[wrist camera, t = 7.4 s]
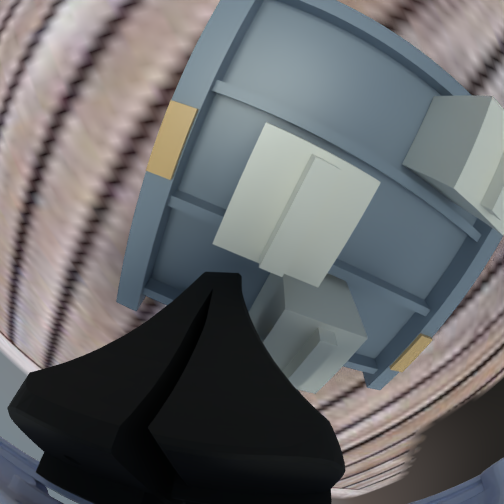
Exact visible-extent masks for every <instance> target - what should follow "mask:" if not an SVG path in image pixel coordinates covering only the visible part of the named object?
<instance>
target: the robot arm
mask: <svg viewBox="0 0 504 504" xmlns="http://www.w3.org/2000/svg"><path fill="white" fill-rule="evenodd" d="M8 412H9V415H10V417H11V419H12V420H13V422H14V423H15V424H16V425H17V426H18V427H19V428H20V429H21V430H22V431H23V432H24V433H25V434H26V435H27V436H28V437H29V438H30V439H31V440H32V441H33V442H34V443H35V444H36V445H37V446H38V447H40V448H41V449H42V450H43V451H44V454H43V456H42V458H41V461H40V462H39V461H37V460H35V459H34V458H32V457H30V456H29V455H27V454H26V453H24V452H23V451H21V450H19V449H18V448H16V447H15V446H13V445H12V444H10V443H9V442H7V441H6V440H5V439H3V438H2V437H0V504H63V503H61V502H60V501H58V500H56V499H54V498H52V497H51V496H50V495H49V494H48V490H47V488H46V487H48V488H50V489H51V490H53V491H55V492H57V493H59V494H60V495H62V496H64V497H66V498H68V499H70V500H72V501H74V502H76V503H79V504H331V488H332V487H333V486H334V485H335V484H336V483H337V482H338V481H339V480H340V479H341V477H342V476H343V475H344V473H345V463H344V459H343V455H342V451H341V448H340V445H339V442H338V440H337V437H336V435H335V433H334V430H333V428H332V426H331V424H330V422H329V421H328V420H327V419H326V418H325V417H324V416H323V415H322V414H321V413H320V412H319V411H317V410H316V409H315V408H314V407H313V406H312V405H311V404H310V403H309V402H308V401H307V400H306V399H305V398H304V397H303V396H302V395H301V393H300V392H299V391H298V390H297V389H296V388H295V387H294V386H293V385H292V383H291V382H290V381H289V380H288V378H287V377H286V376H285V374H284V373H283V372H282V371H281V369H280V368H279V367H278V365H277V364H276V363H275V361H274V360H273V358H272V357H271V355H270V354H269V352H268V351H267V349H266V347H265V346H264V344H263V342H262V340H261V339H260V337H259V335H258V333H257V331H256V329H255V327H254V325H253V322H252V320H251V318H250V315H249V313H248V310H247V307H246V304H245V301H244V297H243V293H242V276H241V275H240V274H239V273H229V272H204V273H203V274H202V275H201V276H200V277H199V278H198V279H196V280H195V281H194V282H193V283H192V284H191V285H190V286H189V287H188V288H187V289H186V290H185V291H183V292H182V293H181V294H180V295H179V296H178V297H177V298H176V299H174V300H173V301H172V302H171V303H170V304H168V305H167V306H166V307H165V308H163V309H162V310H161V311H160V312H158V313H157V314H156V315H155V316H153V317H152V318H150V319H149V320H148V321H146V322H145V323H143V324H142V325H140V326H139V327H137V328H136V329H134V330H132V331H131V332H129V333H128V334H126V335H124V336H122V337H121V338H119V339H117V340H115V341H113V342H111V343H109V344H107V345H105V346H103V347H102V348H100V349H97V350H95V351H93V352H91V353H88V354H86V355H84V356H81V357H79V358H76V359H73V360H71V361H68V362H65V363H62V364H59V365H56V366H52V367H49V368H45V369H42V370H38V371H34V372H30V373H29V375H28V376H27V378H26V379H25V381H24V382H23V384H22V385H21V387H20V389H19V390H18V392H17V393H16V395H15V397H14V398H13V400H12V401H11V403H10V405H9V406H8ZM45 486H46V487H45ZM409 504H504V458H502V459H501V460H499V461H497V462H496V463H494V464H493V465H492V466H490V467H489V468H487V469H486V470H485V471H484V472H483V473H482V474H481V475H479V476H477V477H475V478H473V479H471V480H469V481H466V482H464V483H462V484H460V485H457V486H455V487H453V488H451V489H448V490H446V491H443V492H441V493H438V494H435V495H433V496H430V497H427V498H424V499H421V500H418V501H415V502H412V503H409Z"/></svg>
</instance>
